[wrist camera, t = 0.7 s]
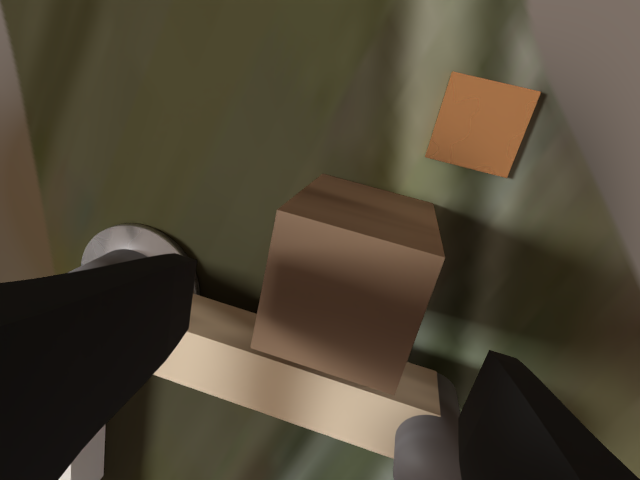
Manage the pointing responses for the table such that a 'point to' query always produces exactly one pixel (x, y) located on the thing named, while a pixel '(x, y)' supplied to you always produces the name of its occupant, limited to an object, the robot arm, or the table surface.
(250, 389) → the crank
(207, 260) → the table surface
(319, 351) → the block
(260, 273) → the table surface
